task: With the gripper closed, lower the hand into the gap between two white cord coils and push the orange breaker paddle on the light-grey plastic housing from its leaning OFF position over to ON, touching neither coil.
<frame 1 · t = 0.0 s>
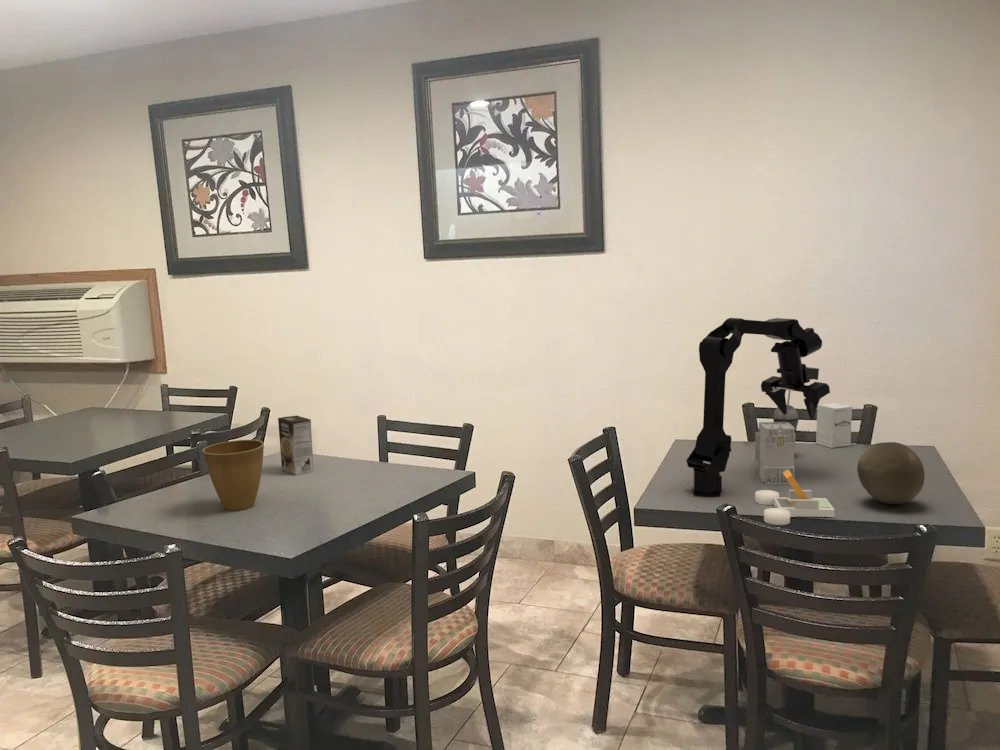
hand: (798, 416, 222), 15 cm above the table, tool pointing down, fingers open, 9 cm apart
cantaloupe: (889, 505, 193), on the table
cord coil a: (766, 502, 198), on the table
supplement box: (833, 445, 252), on the table
plant pot: (238, 507, 208), on the table
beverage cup: (785, 456, 240), on the table
cord coil b: (776, 521, 184), on the table
paddle: (796, 487, 189), point 6 cm above the table, hinge at -32.0°
coffee box: (297, 471, 242), on the table
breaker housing: (803, 511, 189), on the table
circuit breaker: (773, 477, 219), on the table
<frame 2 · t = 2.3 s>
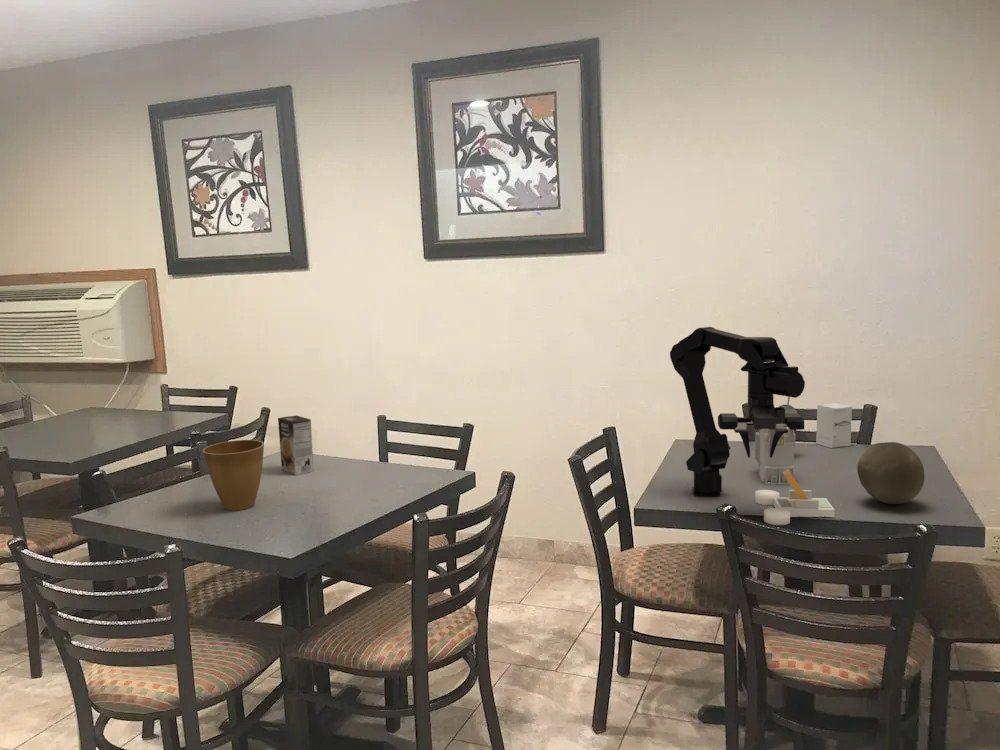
hand: (759, 457, 189), 13 cm above the table, tool pointing down, fingers open, 5 cm apart
nothing on the table moved.
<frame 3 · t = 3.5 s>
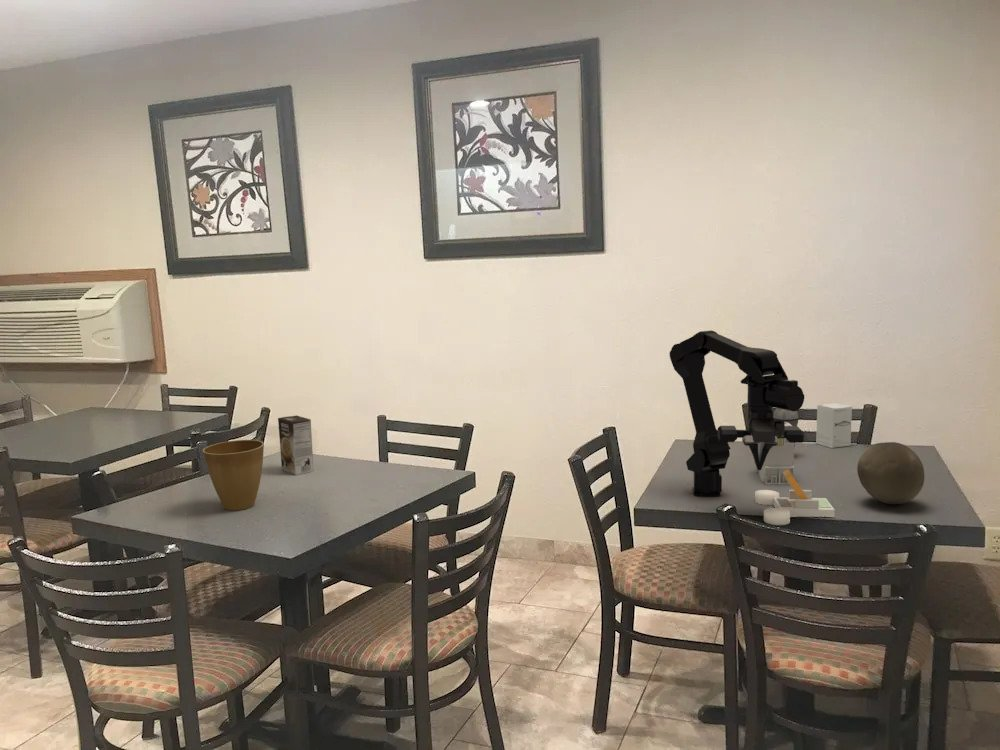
hand: (759, 469, 190), 10 cm above the table, tool pointing down, fingers closed
nothing on the table moved.
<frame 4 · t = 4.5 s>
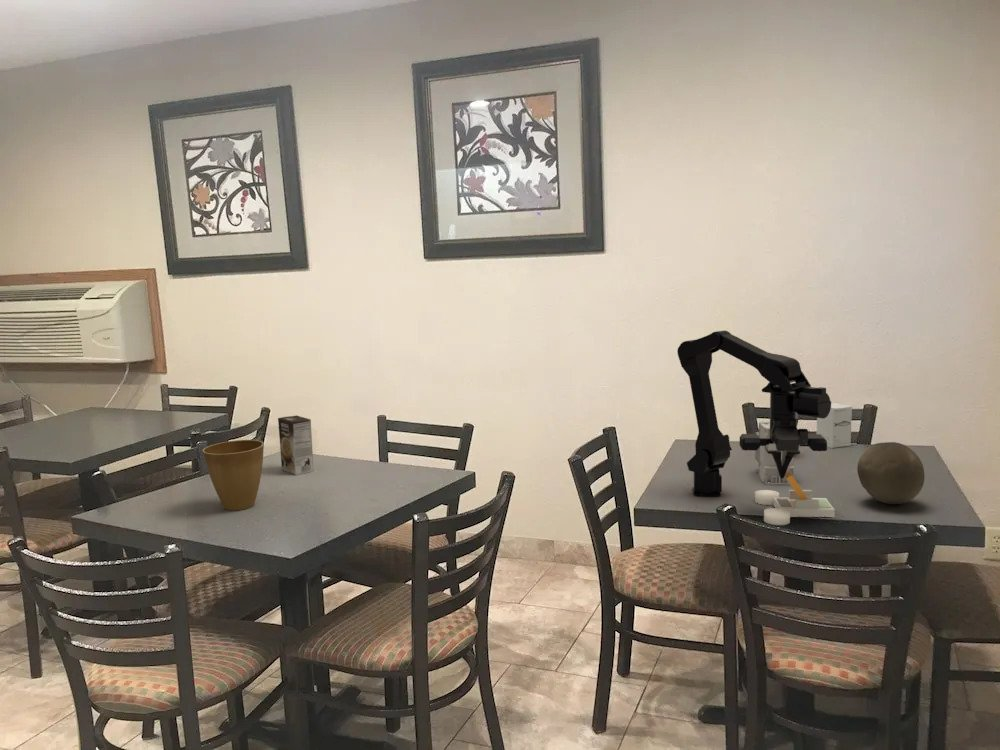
hand: (781, 478, 189), 8 cm above the table, tool pointing down, fingers closed
paddle: (796, 487, 189), point 6 cm above the table, hinge at -31.9°, touching gripper
everything else where it was.
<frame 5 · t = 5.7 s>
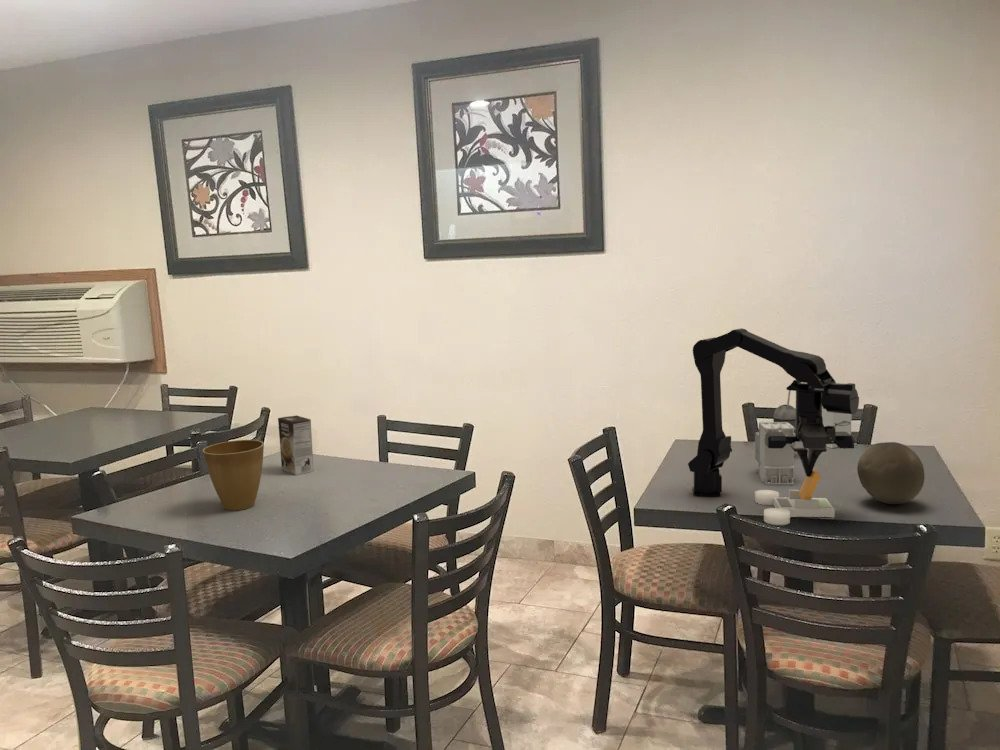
hand: (808, 476, 188), 9 cm above the table, tool pointing down, fingers closed
paddle: (808, 486, 188), point 6 cm above the table, hinge at 21.6°, touching gripper
everything else where it was.
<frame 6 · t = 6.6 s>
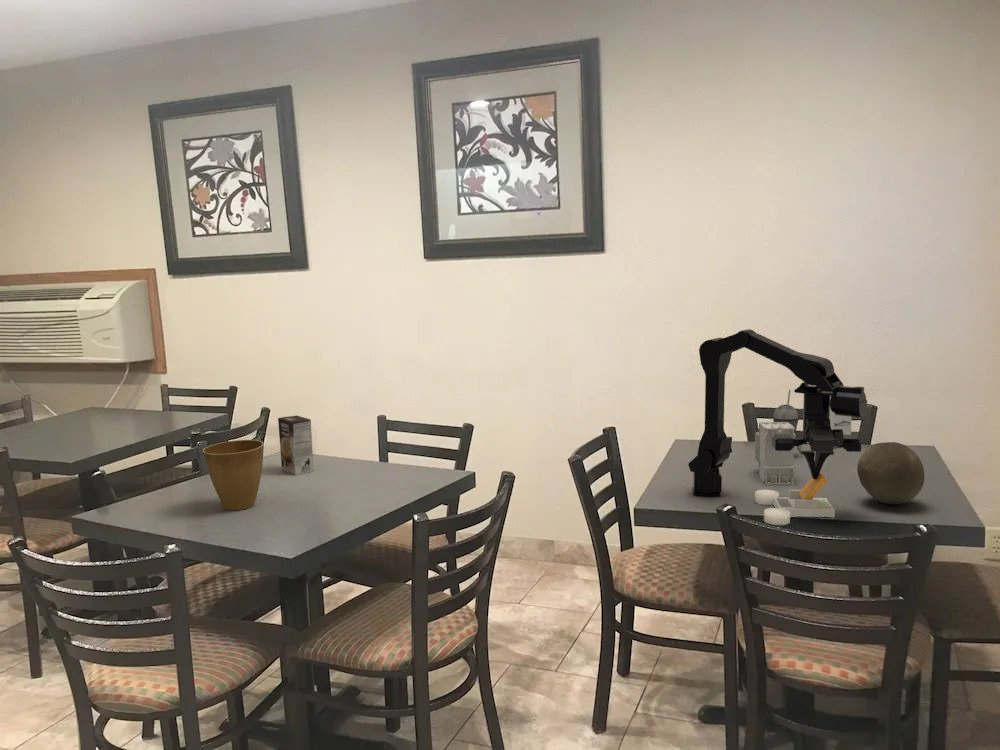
hand: (814, 478, 188), 8 cm above the table, tool pointing down, fingers closed
paddle: (812, 488, 188), point 6 cm above the table, hinge at 37.4°, touching gripper
everything else where it was.
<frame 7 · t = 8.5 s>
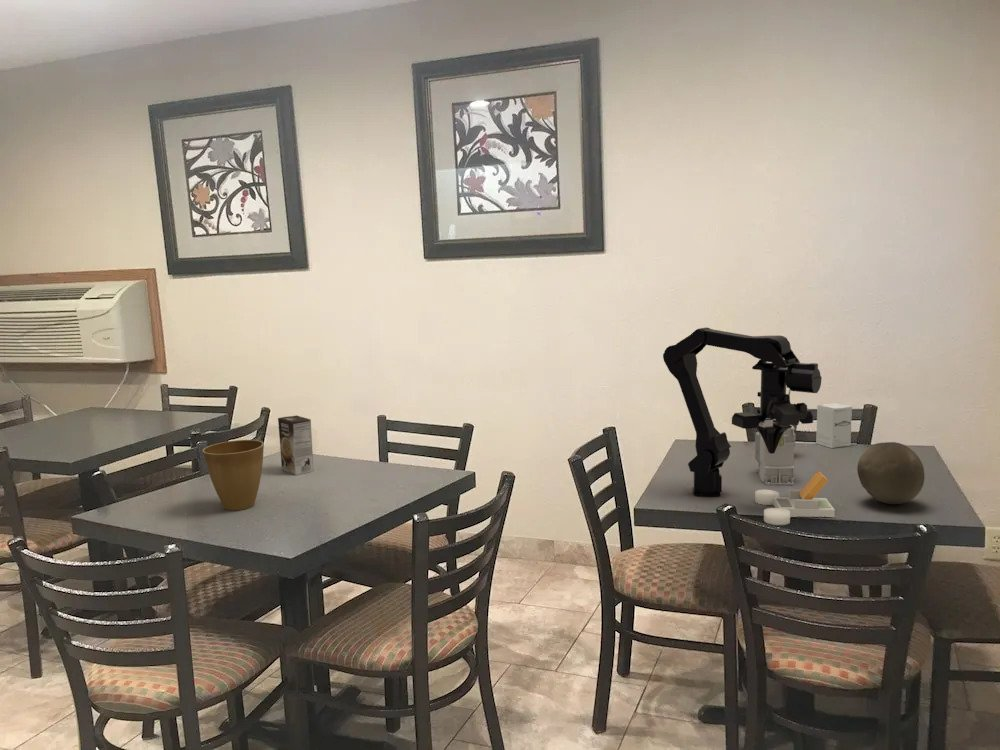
hand: (771, 453, 193), 13 cm above the table, tool pointing down, fingers closed
paddle: (812, 488, 188), point 6 cm above the table, hinge at 37.5°
everything else where it was.
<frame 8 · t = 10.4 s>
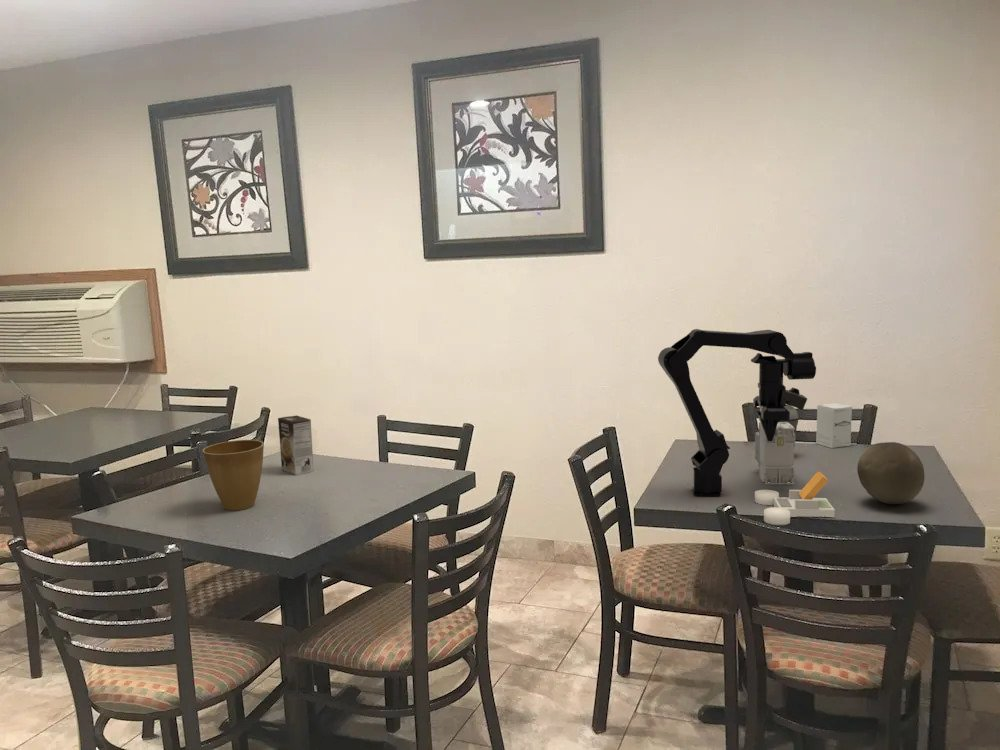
hand: (770, 440, 205), 13 cm above the table, tool pointing down, fingers closed
nothing on the table moved.
at the end: paddle at +38° (first picture: -32°); cord coil a moved 0.2 cm from its start; cord coil b moved 0.2 cm from its start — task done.
